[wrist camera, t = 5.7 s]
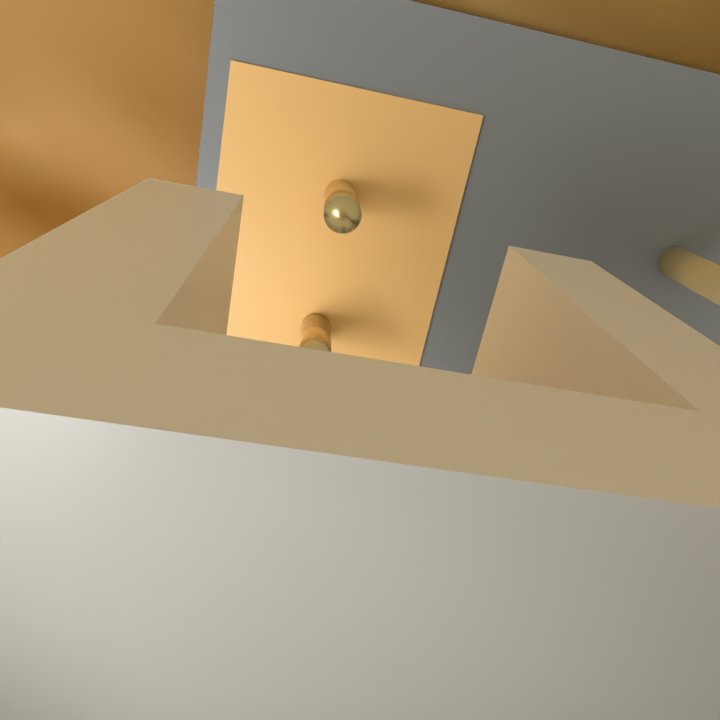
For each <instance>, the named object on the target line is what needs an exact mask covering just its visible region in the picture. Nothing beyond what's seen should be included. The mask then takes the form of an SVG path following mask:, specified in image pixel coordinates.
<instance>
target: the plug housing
mask: <svg viewBox="0 0 720 720" xmlns="http://www.w3.org/2000/svg"><path fill="white" fill-rule="evenodd" d="M243 198H244V195H239V194H234V193H229V192H224V191H218V190H213V189H208V188H202V187H197V186H192V185H187V184H181V183H176V182H171V181H165V180H160V179H155V178H150V177H149V178H147V179H145V180H143V181H141V182H139V183H138V184H136V185H134V186H132V187H130V188H128V189H127V190H125V191H123V192H121V193H119V194H117V195H116V196H114V197H112V198H110V199H108V200H106V201H105V202H103V203H101V204H99V205H97V206H96V207H94V208H92V209H90V210H88V211H86V212H85V213H83V214H81V215H79V216H77V217H75V218H74V219H72V220H70V221H68V222H66V223H64V224H63V225H61V226H59V227H57V228H55V229H53V230H52V231H50V232H48V233H46V234H44V235H42V236H41V237H39V238H37V239H35V240H33V241H31V242H30V243H28V244H26V245H24V246H22V247H20V248H19V249H17V250H15V251H13V252H11V253H9V254H8V255H6V256H4V257H2V258H0V720H720V346H719V345H717V344H716V343H714V342H713V341H711V340H710V339H708V338H707V337H705V336H704V335H702V334H701V333H699V332H698V331H696V330H695V329H693V328H692V327H690V326H689V325H687V324H686V323H684V322H683V321H681V320H680V319H678V318H677V317H675V316H674V315H672V314H671V313H669V312H668V311H666V310H664V309H663V308H661V307H660V306H658V305H657V304H655V303H654V302H652V301H651V300H649V299H648V298H646V297H645V296H643V295H642V294H640V293H639V292H637V291H636V290H634V289H633V288H631V287H630V286H628V285H627V284H625V283H624V282H622V281H621V280H619V279H618V278H616V277H615V276H613V275H611V274H610V273H608V272H607V271H605V270H604V269H602V268H601V267H599V266H598V265H596V264H595V263H593V262H592V261H588V260H583V259H577V258H572V257H567V256H562V255H556V254H551V253H546V252H541V251H535V250H530V249H525V248H519V247H514V246H509V247H508V250H507V254H506V257H505V261H504V264H503V267H502V271H501V274H500V278H499V281H498V285H497V288H496V292H495V295H494V298H493V302H492V305H491V309H490V312H489V316H488V319H487V322H486V326H485V329H484V333H483V336H482V340H481V343H480V347H479V350H478V353H477V357H476V360H475V364H474V367H473V371H472V374H465V373H458V372H452V371H446V370H440V369H434V368H427V367H421V366H415V365H409V364H403V363H396V362H390V361H384V360H378V359H372V358H365V357H359V356H353V355H347V354H340V353H334V352H328V351H322V350H316V349H309V348H303V347H297V346H291V345H285V344H278V343H272V342H266V341H260V340H254V339H247V338H241V337H235V336H229V335H226V334H227V326H228V318H229V310H230V302H231V294H232V286H233V278H234V270H235V262H236V254H237V246H238V238H239V230H240V222H241V214H242V206H243Z"/></svg>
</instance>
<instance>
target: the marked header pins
mask: <svg viewBox="0 0 720 720" xmlns="http://www.w3.org/2000/svg"><path fill="white" fill-rule="evenodd" d="M361 216H362V213H361V208H360V205H359V201H358V198H357V194H356V191H355V188H354V187H353V185H352V184H351V183H349V182H348V181H346V180H335V181H332V182H331V183H330V184H329V185H328V186H327V187H326V189H325V192H324V220H325V222H326V224H327V226H328V227H329V228H330V229H331V230H332V231H334V232H336V233H340V234H345V233H349V232H351V231H353V230H355V229H356V228H357V226H358V225H359V223H360V221H361ZM299 347H303V348H309V349H316V350H322V351H328V352H331V324H330V321H329V319H328V318H327V317H326V316H325V315H323V314H321V313H311V314H309V315H307V316H306V317H305V318H304V319H303V321H302V323H301V331H300V340H299Z"/></svg>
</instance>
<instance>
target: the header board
mask: <svg viewBox="0 0 720 720" xmlns="http://www.w3.org/2000/svg"><path fill="white" fill-rule="evenodd" d="M335 180H346V181H348V182H349V183H351V184H352V185H353V187H354V188H355V191H356V194H357V198H358V201H359V205H360V208H361V213H362V216H361V221H360V223H359V225H358V226H357V228H356V229H355V230H353V231H351V232H349V233H345V234H340V233H336V232H334V231H332V230H331V229H330V228H329V227H328V226H327V224H326V222H325V220H324V192H325V189H326V187H327V186H328V185H329V184H330V183H331V182H332V181H335ZM196 186H197V187H202V188H208V189H213V190H218V191H224V192H229V193H234V194H239V195H244V198H243V206H242V214H241V222H240V230H239V238H238V246H237V254H236V262H235V270H234V278H233V286H232V294H231V302H230V310H229V318H228V326H227V334H226V335H229V336H235V337H241V338H247V339H254V340H260V341H266V342H272V343H278V344H285V345H291V346H297V347H299V340H300V331H301V323H302V321H303V319H304V318H305V317H306V316H307V315H309V314H311V313H321V314H323V315H325V316H326V317H327V318H328V319H329V321H330V324H331V352H334V353H340V354H347V355H353V356H359V357H365V358H372V359H378V360H384V361H390V362H396V363H403V364H409V365H415V366H421V367H427V368H434V369H440V370H446V371H452V372H458V373H465V374H472V371H473V367H474V364H475V360H476V357H477V353H478V350H479V347H480V343H481V340H482V336H483V333H484V329H485V326H486V322H487V319H488V316H489V312H490V309H491V305H492V302H493V298H494V295H495V292H496V288H497V285H498V281H499V278H500V274H501V271H502V267H503V264H504V261H505V257H506V254H507V250H508V247H509V246H514V247H519V248H525V249H530V250H535V251H541V252H546V253H551V254H556V255H562V256H567V257H572V258H577V259H583V260H588V261H592V262H593V263H595V264H596V265H598V266H599V267H601V268H602V269H604V270H605V271H607V272H608V273H610V274H611V275H613V276H615V277H616V278H618V279H619V280H621V281H622V282H624V283H625V284H627V285H628V286H630V287H631V288H633V289H634V290H636V291H637V292H639V293H640V294H642V295H643V296H645V297H646V298H648V299H649V300H651V301H652V302H654V303H655V304H657V305H658V306H660V307H661V308H663V309H664V310H666V311H668V312H669V313H671V314H672V315H674V316H675V317H677V318H678V319H680V320H681V321H683V322H684V323H686V324H687V325H689V326H690V327H692V328H693V329H695V330H696V331H698V332H699V333H701V334H702V335H704V336H705V337H707V338H708V339H710V340H711V341H713V342H714V343H716V344H717V345H719V346H720V74H716V73H712V72H708V71H703V70H699V69H695V68H691V67H687V66H682V65H678V64H674V63H670V62H666V61H662V60H657V59H653V58H649V57H645V56H641V55H637V54H632V53H628V52H624V51H620V50H616V49H611V48H607V47H603V46H599V45H595V44H591V43H586V42H582V41H578V40H574V39H570V38H565V37H561V36H557V35H553V34H549V33H545V32H540V31H536V30H532V29H528V28H524V27H519V26H515V25H511V24H507V23H503V22H499V21H494V20H490V19H486V18H482V17H478V16H474V15H469V14H465V13H461V12H457V11H453V10H448V9H444V8H440V7H436V6H432V5H428V4H423V3H419V2H415V1H411V0H215V4H214V14H213V24H212V33H211V43H210V53H209V63H208V73H207V83H206V93H205V103H204V113H203V123H202V133H201V143H200V153H199V163H198V173H197V183H196Z"/></svg>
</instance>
